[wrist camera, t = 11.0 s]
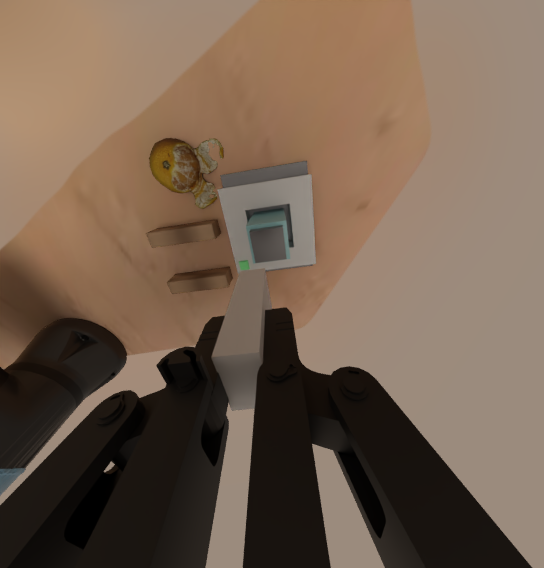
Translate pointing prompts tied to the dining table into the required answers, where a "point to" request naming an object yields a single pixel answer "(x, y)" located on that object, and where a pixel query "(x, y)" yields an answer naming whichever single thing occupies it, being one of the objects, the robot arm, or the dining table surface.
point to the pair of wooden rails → (187, 235)
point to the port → (266, 196)
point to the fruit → (184, 168)
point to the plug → (268, 236)
